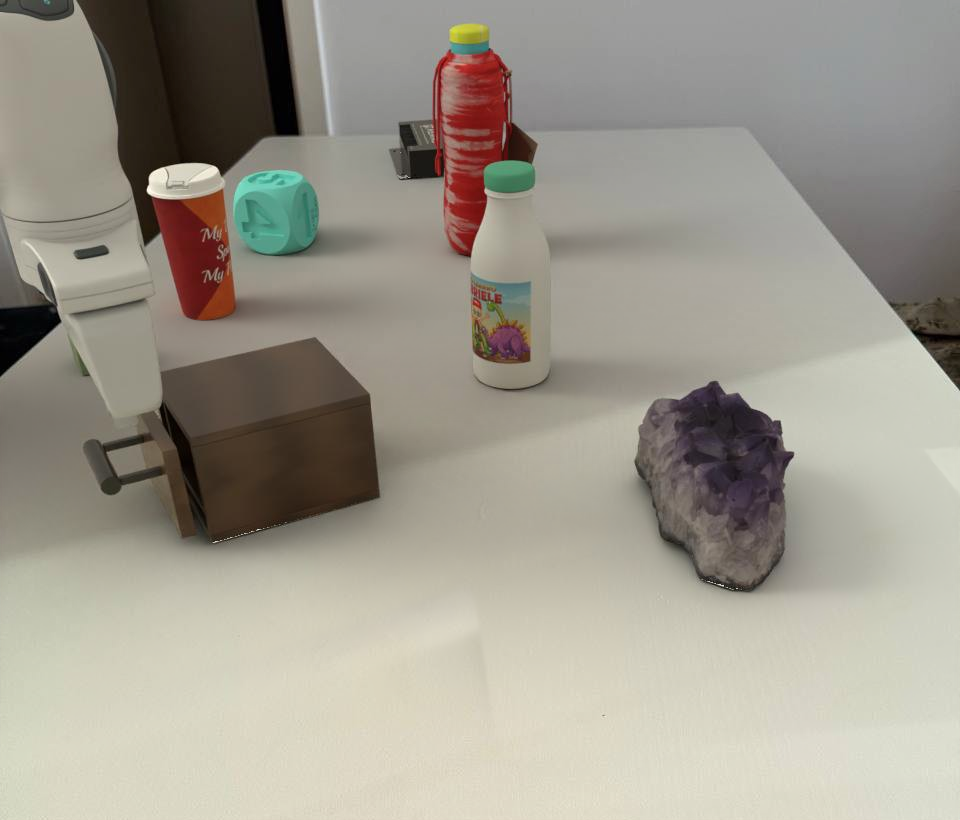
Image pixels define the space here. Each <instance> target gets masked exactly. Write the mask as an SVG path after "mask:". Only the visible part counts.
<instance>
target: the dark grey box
mask: <svg viewBox="0 0 960 820" xmlns="http://www.w3.org/2000/svg"><path fill="white" fill-rule="evenodd" d="M435 120H436V137H437V118H435ZM398 136H399V147H395V148H393V147H392V148H389V149H388V150H389V154H390V158H391V161H392V164H393V166H394V170H395V173H396V176H397V175H399V176H403V177H405V175H407V176H408V177H410V178H416V179H424V178H423V177H429V178H438V177H437V176H442V177H444V154H443V141H442V134H441V126H440V151H441V152H442V156H441V157H440V167H441V175H438V173H436V169H435V157H436V154H437V148H436V146H435V143H434V130H433V119H420V120H407V121H398ZM396 151H397V152H396ZM400 152H401V153H400ZM402 174H404V175H402ZM408 177H406V178H408Z"/></svg>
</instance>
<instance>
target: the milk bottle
mask: <svg viewBox="0 0 960 820" xmlns="http://www.w3.org/2000/svg"><path fill="white" fill-rule="evenodd" d="M484 184H485V190H484V192H485V194H486V195H487V206H486V210H485V214H484V218H483V220H482V223H481V226H480V228H479V231H478V233H477V235H476V238H475V241H474V245H473V249H472V255H471V256H470V309H471V310H470V311H471V315H470V316H471V340H472V341H471V342H472V366H473V373H474V374H475V377H476V379H477V380H478V381H480V383H482V384H485V385H486V386H489V387H493V388H498V389H506V390H510V389H511V390H514V389H525V388H529V387H532V386H535V385H538V384H540V383H542V382H543V381H544V380H545V379H546V378H547V377H548V375H549V373H550V371H551V359H552V357H551V356H552V355H551V352H552V349H551V348H552V347H551V346H552V264H551V263H552V262H551V254H550V253H551V252H550V247H549V244H548V240H547V237H546V234H545V233H544V230H543V228H542V225H541V224H540V221H539V219H538V216H537V213H536V209H535V206H534V205H535V204H534V199H533V194H534V193H535V192H536V188H535V184H536V170H535V166H534V165H533V164H532V165H531V164H530V163H527V162H522V161H500V162H495V163H492V164H489V165H488V166H487V167H486V168H485V170H484Z"/></svg>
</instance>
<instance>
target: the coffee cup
mask: <svg viewBox="0 0 960 820" xmlns="http://www.w3.org/2000/svg"><path fill="white" fill-rule="evenodd" d="M226 184H227V183H226V180H225V179H224V178H223V176H221V173H220V170H219V168H218V167H216V166H215V165H211V164H208V163H201V162H200V163H199V162H190V163H189V162H186V163H178V164H172V165H167V166H163V167H160V168H158V169H156V170H153V171H152V172H151V173H150V174H149V176H148V185H147V188H146V193H147V194H148V195H149V196H151V199H152V204H153V207H154V211H155V215H156V219H157V222H158V225H159V226H158V227H159V231H160V233H161V237H162V242H163V245H164V249H165V252H166V256H167V261H168V263H169V268H170V271H171V275H172V279H173V282H174V286H175V290H176V293H177V297H178V301H179V304H180V308H181V311H182V313H183V315H184V316H185V317H186V318H189V319H190V320H196V321H208V320H209V321H211V320H216V319H220V318H221V319H222V318H224V317H226V316H229V315H231V314H232V313H233V312H234V311H235V310H236V294H235V284H234V274H233V263H232V256H231V246H230V238H229V229H228V221H227V219H228V218H227V211H226V204H225V203H226V202H225V193H224V188H225V186H226Z"/></svg>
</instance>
